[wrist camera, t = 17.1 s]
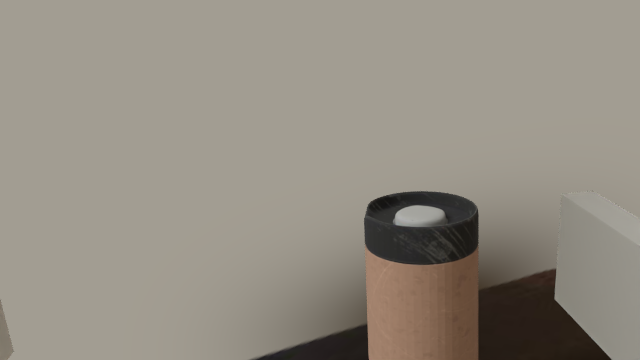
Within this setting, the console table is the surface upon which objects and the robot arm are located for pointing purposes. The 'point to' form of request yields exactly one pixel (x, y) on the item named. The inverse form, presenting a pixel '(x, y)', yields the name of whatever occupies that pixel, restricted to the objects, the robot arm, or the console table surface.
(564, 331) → the console table surface
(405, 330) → the travel mug
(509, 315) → the console table surface
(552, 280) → the console table surface
